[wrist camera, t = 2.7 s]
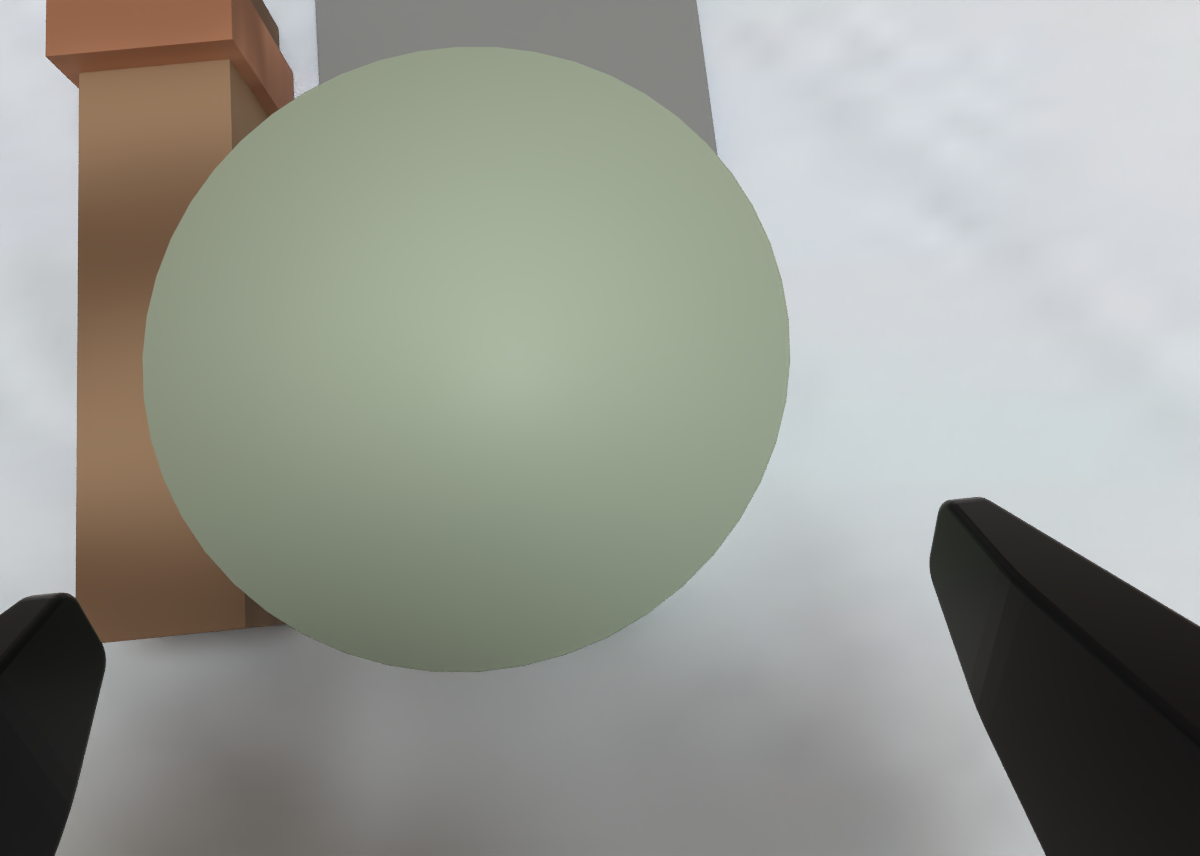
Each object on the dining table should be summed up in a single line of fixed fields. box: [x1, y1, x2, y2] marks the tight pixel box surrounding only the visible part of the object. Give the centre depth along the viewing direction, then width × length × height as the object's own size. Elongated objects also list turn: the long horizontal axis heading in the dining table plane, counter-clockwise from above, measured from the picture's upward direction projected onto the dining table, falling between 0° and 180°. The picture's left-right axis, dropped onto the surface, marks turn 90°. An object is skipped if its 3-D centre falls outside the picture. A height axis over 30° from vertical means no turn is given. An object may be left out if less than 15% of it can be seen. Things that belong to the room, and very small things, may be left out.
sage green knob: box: [142, 47, 790, 672], centre depth 13 cm, size 6×6×12 cm
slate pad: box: [315, 0, 717, 155], centre depth 21 cm, size 9×9×1 cm
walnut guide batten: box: [46, 0, 294, 643], centre depth 18 cm, size 14×4×4 cm, turn 6°
